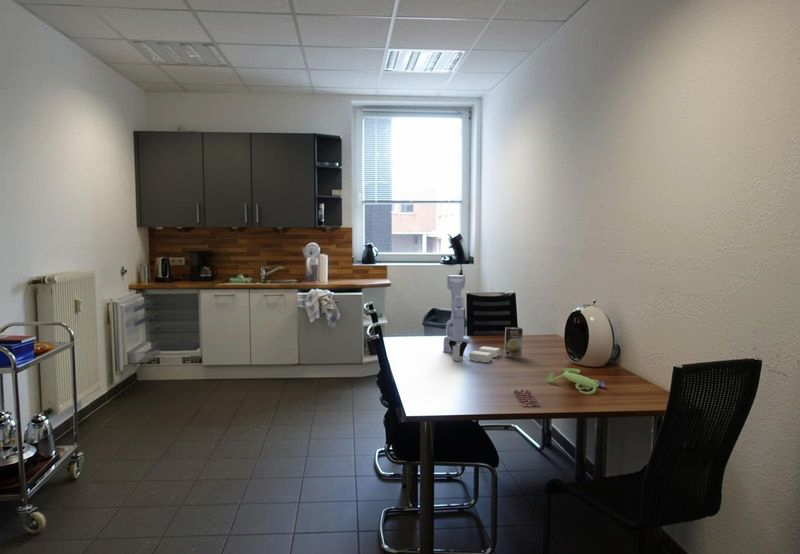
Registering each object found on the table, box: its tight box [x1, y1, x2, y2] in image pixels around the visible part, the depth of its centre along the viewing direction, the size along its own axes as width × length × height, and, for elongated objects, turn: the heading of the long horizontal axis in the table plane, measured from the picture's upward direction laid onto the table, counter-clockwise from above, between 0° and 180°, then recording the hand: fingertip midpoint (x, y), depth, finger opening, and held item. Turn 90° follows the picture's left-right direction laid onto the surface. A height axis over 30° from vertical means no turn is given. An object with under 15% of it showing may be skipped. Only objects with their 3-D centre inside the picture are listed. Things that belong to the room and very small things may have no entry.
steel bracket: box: [451, 344, 464, 362], centre depth 295 cm, size 4×5×8 cm
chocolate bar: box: [513, 389, 541, 407], centre depth 229 cm, size 7×19×2 cm, turn 178°
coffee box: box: [503, 326, 524, 359], centre depth 305 cm, size 9×6×16 cm
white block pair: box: [469, 346, 501, 363], centre depth 302 cm, size 10×20×4 cm, turn 150°
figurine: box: [545, 368, 606, 395], centre depth 251 cm, size 18×27×6 cm
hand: (457, 355), depth 295 cm, fingers closed on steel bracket, 4 cm apart
